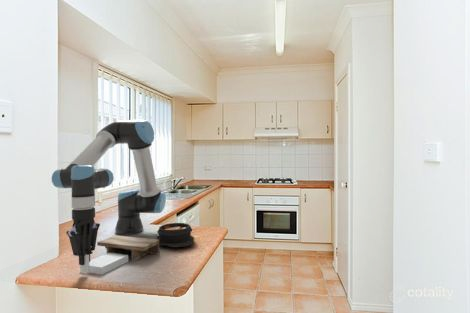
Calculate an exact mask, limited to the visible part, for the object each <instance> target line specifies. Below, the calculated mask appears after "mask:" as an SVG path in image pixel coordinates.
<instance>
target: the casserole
mask: <svg viewBox="0 0 470 313" xmlns="http://www.w3.org/2000/svg"><path fill="white" fill-rule="evenodd" d="M192 231H193V229H192V227H191V224H189V223H185V222H174V223H173V222H172V223H167V224H162V225H160V226H159V228H158V230H157V232H156V233H157V234H158V235H157V236H156V239H157V240H159V246H160V245H161V246H166V247H169V248H182V247H184V248H185V247H188V246H191V245H194V243H195V237H194V236H193V235H191V233H192Z"/></svg>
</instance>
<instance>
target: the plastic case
mask: <svg viewBox="0 0 470 313" xmlns="http://www.w3.org/2000/svg"><path fill="white" fill-rule="evenodd" d="M128 262H129V255H128V254H123V253H110V252H109V253H107V252H106V253H105V254H103V255H100V256H98V257H95V258H93V259H90V262H89V273H91V274H97V275H104V274H106V273H107V272H109V271H111V270H114V269H115V268H118V267H120V266H122V265H123V264H126V263H128Z"/></svg>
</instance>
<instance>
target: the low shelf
mask: <svg viewBox="0 0 470 313" xmlns="http://www.w3.org/2000/svg"><path fill="white" fill-rule="evenodd" d="M96 244H97V246H98V247H105V246H106V247H107V248H106V254H107V253H109V252H110V253H117V254H120V253H121V252H123V251H128V252H131V261H136V260H138V259H140V258H142V257H143V256H145V255H148V254H154V255H155V254H156V255H159V254H160V244H159V240H157V238H144V237H135V236H134V237H133V236H128V235H127V236H125V235H118V234H116V235H112V236H109V237H107V238H104V239H102V240H99V241H96Z"/></svg>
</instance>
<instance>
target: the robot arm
mask: <svg viewBox="0 0 470 313" xmlns="http://www.w3.org/2000/svg"><path fill="white" fill-rule="evenodd" d="M154 140H155V131H154V128H153V125H152V124H151V123H150V122H149V121H148V120H146V119H145V120H143V119H133V120H132V119H130V120H129V119H128V120H116V121H113V122H111V123H109V124H107V125H105V126H104V127H103V128H101V129H100V130H99V131H98V132H97V134H96V135H95V138H94V139H93V140H92V141H91V142H90V143H89V144H88V145H87V146H86V148H84V150H82V152H80V154H79V155H77V156H76V157H75V159H73V160H72V161H71V162H70V163H69V164H68V165H67V167H66V168H61V169H55V170H54V171H53V172H52V175H51V183H52V185H53V186H54V187H55V188H59V189H71V208H72V210H71V219H72V221H73V223H72V225H71V226H72V228H71V229H70V230H67V231H66V235H67V236H68V238H69V242H70V245H71V250H72V253H73V254H72V255H73V256H76V257H78V265H79V269H80V271H79V272H80V274H85V275H87V274H88V273H90V272H89V262H90V260H91V255H93V251H95V249H96V244H97V237H98V233H99V232H98V230H99V228H100V226H101V223H97V222H95V217H96V208H95V206H96V196H95V192H96V191H95V190H97V189H102V188H106V187H109V186H111V185H112V184H113V182H114V178H115V177H114V173H113V172H112V171H111V169H108V168H95V165H96V164H97V163H98V161H100V159H102V158H103V156H104V154H106V152H108V150H109V149H111V148H113V147H115V146H116V145H120V144H125V145H126V144H127V147H128V149H129V150H131V151H132V155H133V160H134V165H135V169H136V173H137V178H138V181H139V186H140V189H131V190H125V191H121V192H119V193H118V195H117V213H118V215H117V216H118V218H117V222H116V225H115V229H114V231H115V232H114V233H115V234H116V235H133V234H138V233H140V232H143V231H144V225H143V222H142V219H141V214H160V213H162V212H163V211H164V210H165V206H166V200H167V196H166V193H165V192H163V191H161V188H160V187H159V186H158V185H157V180H156V175H155V170H154V164H153V159H152V155H151V150H150V148H151V146H152V143H153V142H154Z"/></svg>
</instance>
